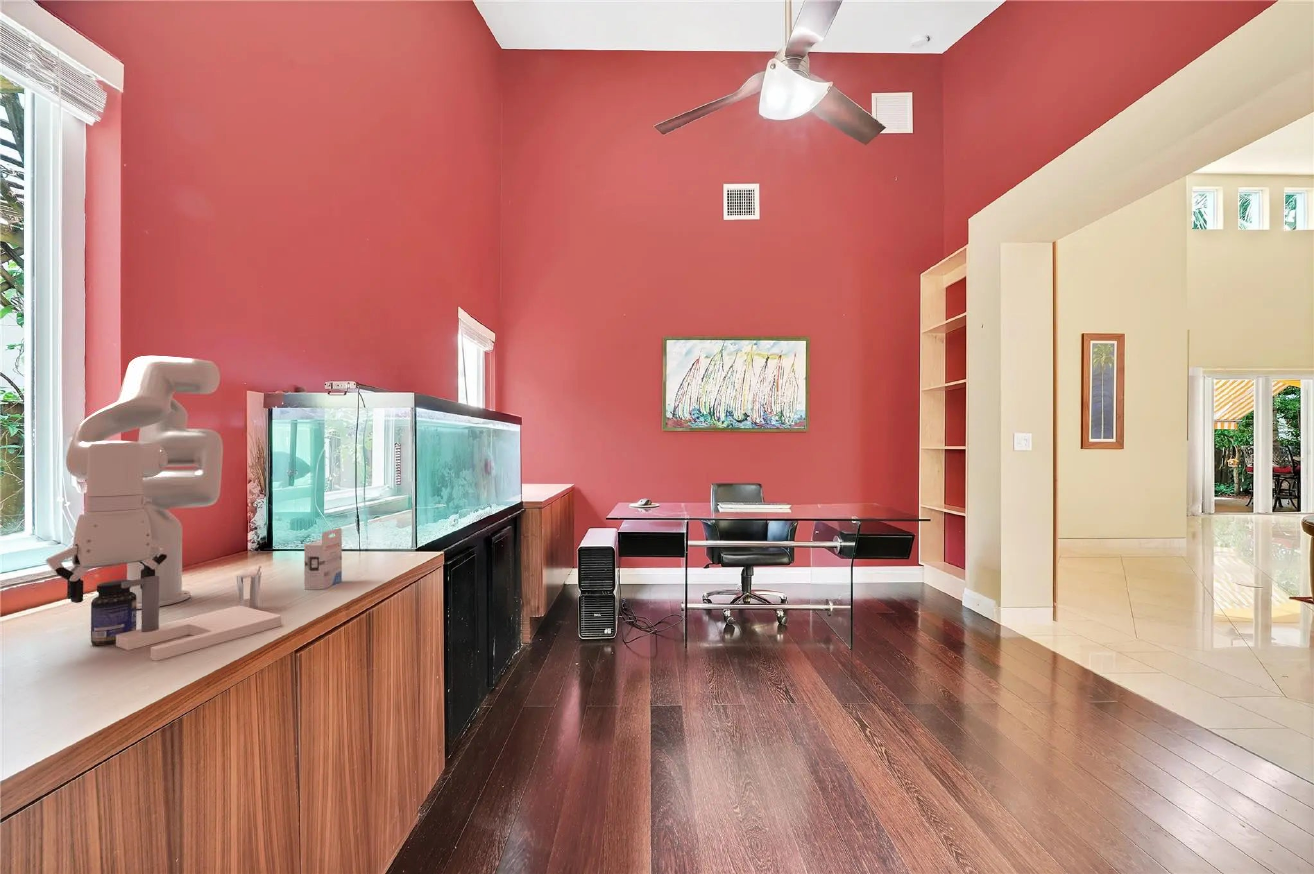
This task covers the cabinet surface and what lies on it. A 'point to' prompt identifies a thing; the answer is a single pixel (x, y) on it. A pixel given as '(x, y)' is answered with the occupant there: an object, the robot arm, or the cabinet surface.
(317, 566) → the ink box
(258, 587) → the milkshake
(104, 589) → the pill bottle
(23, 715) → the cabinet surface
